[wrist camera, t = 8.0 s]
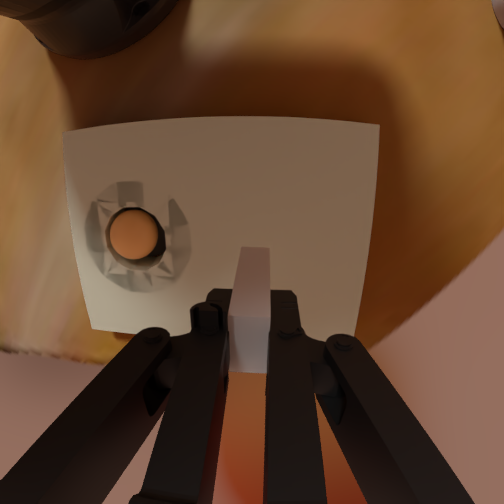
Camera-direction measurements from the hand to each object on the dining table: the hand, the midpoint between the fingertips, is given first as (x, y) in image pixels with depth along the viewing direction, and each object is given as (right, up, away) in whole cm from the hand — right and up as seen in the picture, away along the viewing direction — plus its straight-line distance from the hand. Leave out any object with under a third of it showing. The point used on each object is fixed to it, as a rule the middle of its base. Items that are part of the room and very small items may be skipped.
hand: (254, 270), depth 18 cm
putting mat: (-3, +3, +9) cm, 10 cm away
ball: (-10, +2, +7) cm, 12 cm away
